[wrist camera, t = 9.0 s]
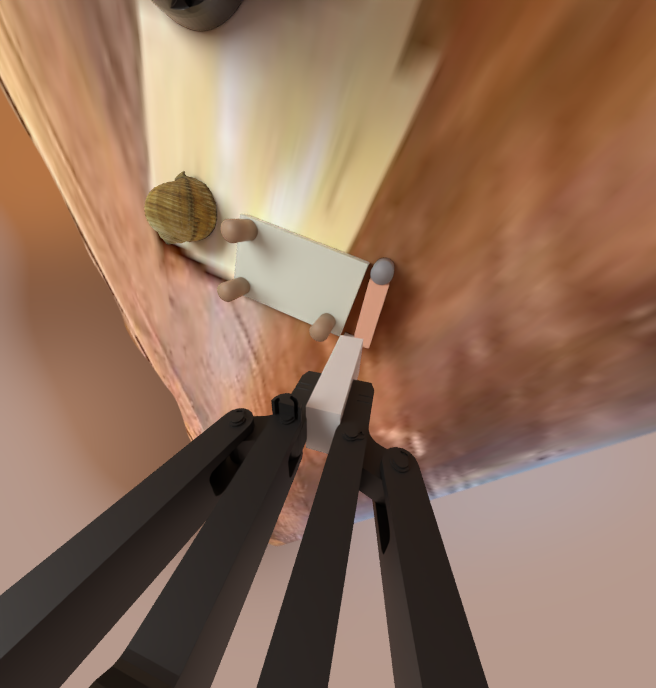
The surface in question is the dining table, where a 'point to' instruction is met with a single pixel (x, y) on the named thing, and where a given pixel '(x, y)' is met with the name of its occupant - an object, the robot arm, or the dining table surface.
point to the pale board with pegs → (292, 274)
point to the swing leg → (374, 299)
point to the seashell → (181, 210)
